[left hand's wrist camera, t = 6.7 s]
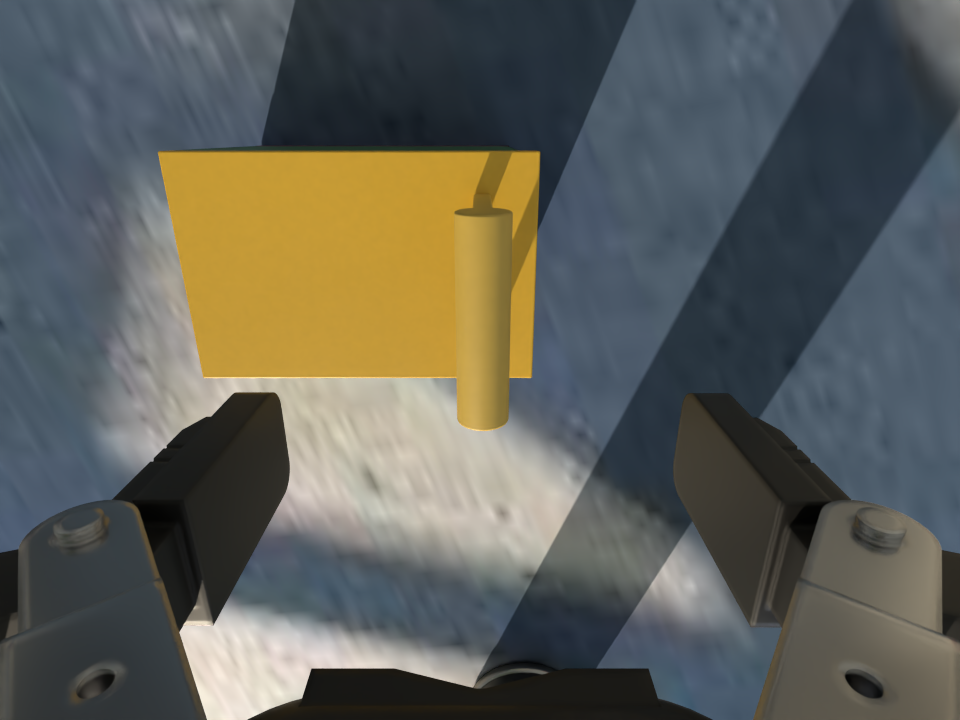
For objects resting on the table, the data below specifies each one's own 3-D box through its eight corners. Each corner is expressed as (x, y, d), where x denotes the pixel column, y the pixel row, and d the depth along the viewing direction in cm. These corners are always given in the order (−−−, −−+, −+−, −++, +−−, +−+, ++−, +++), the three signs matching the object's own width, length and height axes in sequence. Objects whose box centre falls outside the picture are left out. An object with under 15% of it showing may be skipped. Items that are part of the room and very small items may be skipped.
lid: (537, 150, 24) (569, 159, 15) (529, 369, 27) (551, 470, 19) (171, 150, 24) (5, 158, 15) (213, 369, 27) (98, 470, 19)
